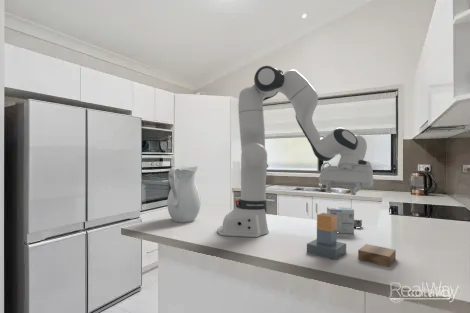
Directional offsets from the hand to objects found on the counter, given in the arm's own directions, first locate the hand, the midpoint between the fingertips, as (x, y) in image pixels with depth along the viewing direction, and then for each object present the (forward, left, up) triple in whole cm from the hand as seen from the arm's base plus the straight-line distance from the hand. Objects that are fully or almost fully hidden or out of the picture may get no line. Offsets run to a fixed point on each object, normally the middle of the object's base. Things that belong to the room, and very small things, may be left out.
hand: (340, 192), depth 106 cm
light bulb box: (+9, +19, -20) cm, 29 cm away
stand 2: (+5, -16, -20) cm, 26 cm away
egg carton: (+19, +30, -20) cm, 41 cm away
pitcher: (-65, +39, -20) cm, 78 cm away
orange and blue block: (-9, -9, -17) cm, 21 cm away
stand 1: (-9, -9, -20) cm, 23 cm away
